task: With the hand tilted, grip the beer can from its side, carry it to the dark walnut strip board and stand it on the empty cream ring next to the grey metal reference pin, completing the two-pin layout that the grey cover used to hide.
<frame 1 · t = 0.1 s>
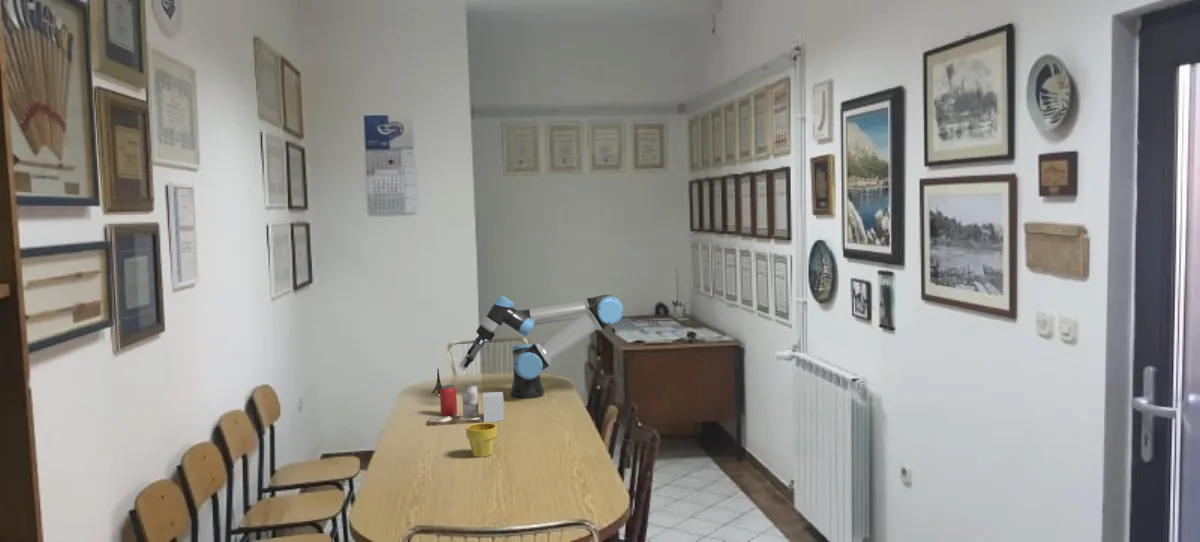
hand: (460, 370, 370), 15 cm above the table, tool tilted 35°, fingers open, 13 cm apart
beer can: (449, 415, 354), on the table
plant pot: (482, 455, 294), on the table
eiffel tower figurine: (438, 395, 398), on the table
layout board: (455, 421, 343), on the table
housing cover: (493, 419, 345), on the table
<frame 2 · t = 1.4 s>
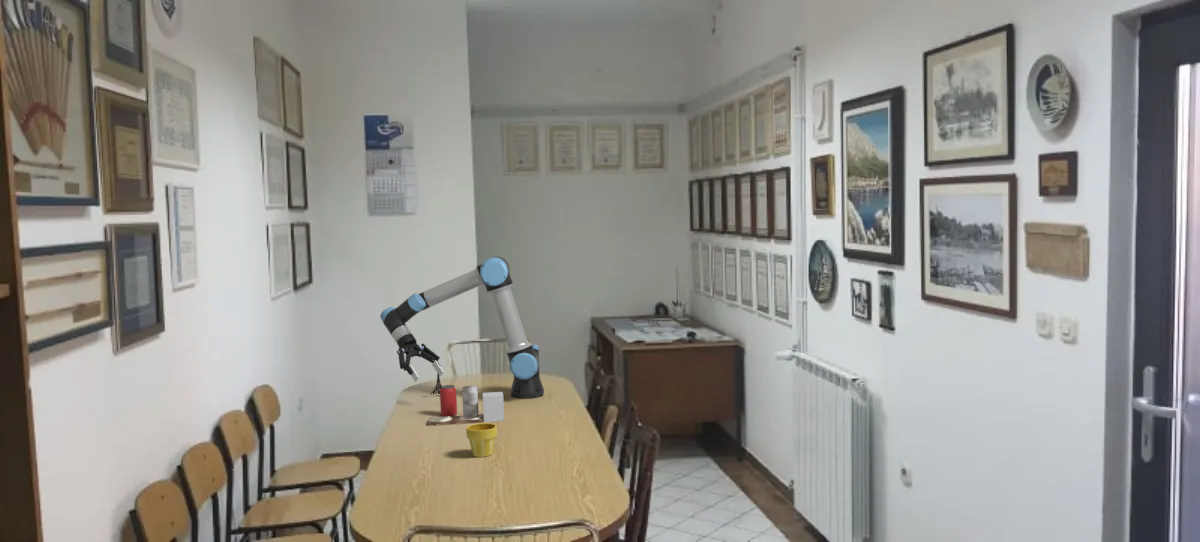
hand: (429, 376, 360), 15 cm above the table, tool tilted 45°, fingers open, 13 cm apart
nothing on the table moved.
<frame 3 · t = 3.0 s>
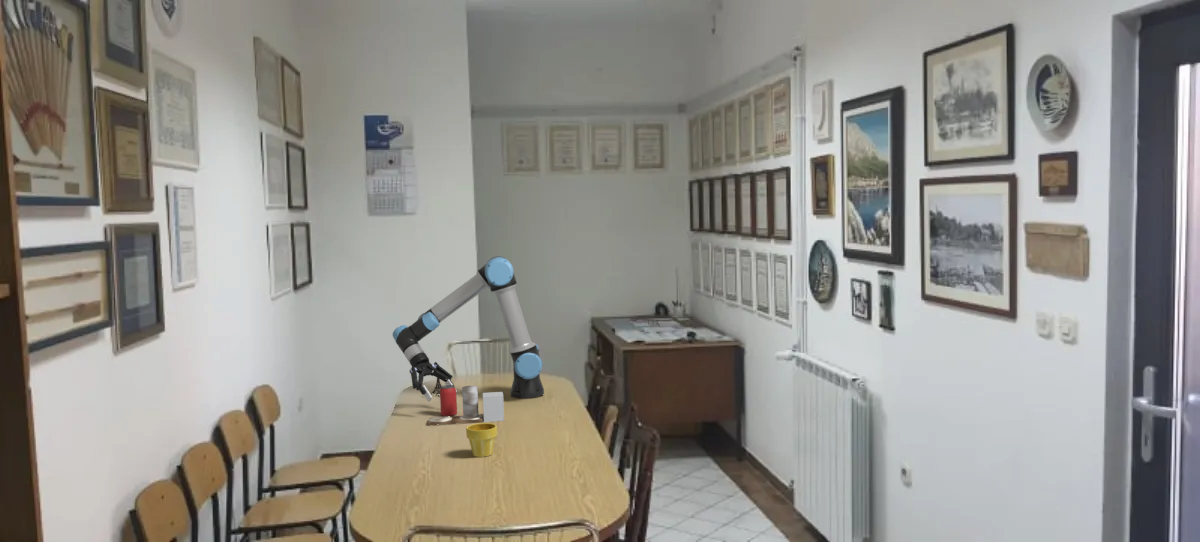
hand: (442, 396, 355), 8 cm above the table, tool tilted 45°, fingers open, 13 cm apart
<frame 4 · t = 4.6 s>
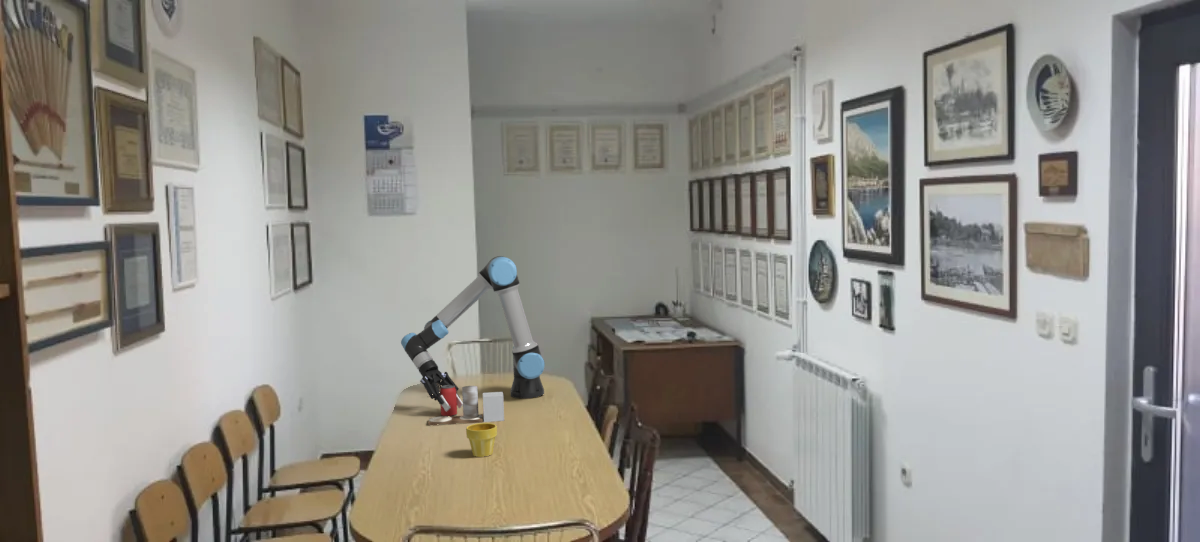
hand: (454, 407, 352), 3 cm above the table, tool tilted 45°, fingers closed on beer can, 6 cm apart
beer can: (449, 415, 354), on the table, touching gripper
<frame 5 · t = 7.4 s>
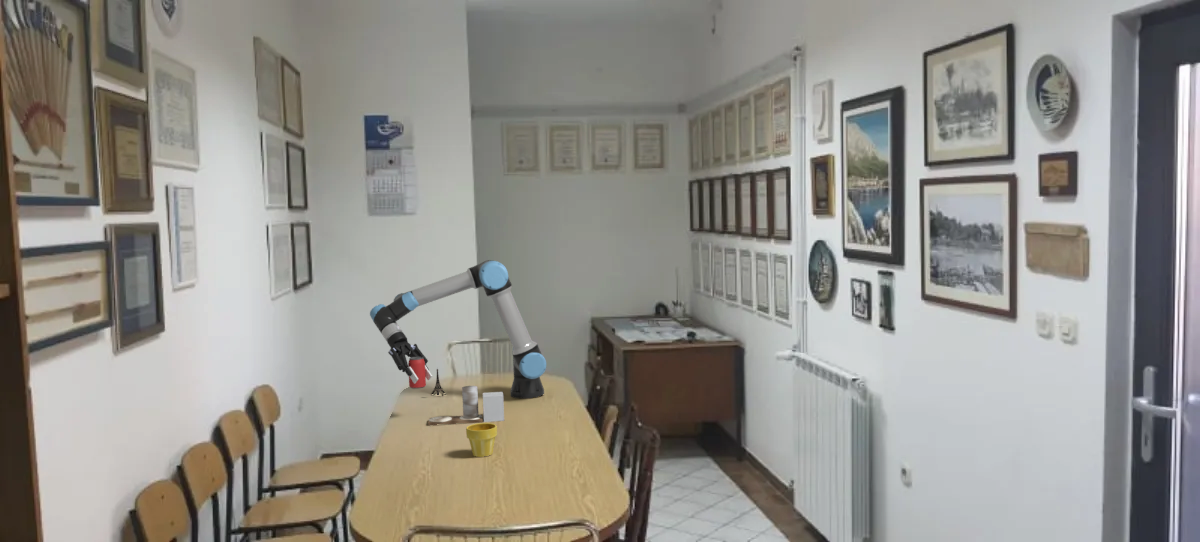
hand: (423, 379, 346), 16 cm above the table, tool tilted 45°, fingers closed on beer can, 6 cm apart
beer can: (417, 387, 348), point 13 cm above the table, touching gripper
when the fingers open (6 cm above the table, at t = 10.5 s): beer can drops 1 cm, resting on layout board.
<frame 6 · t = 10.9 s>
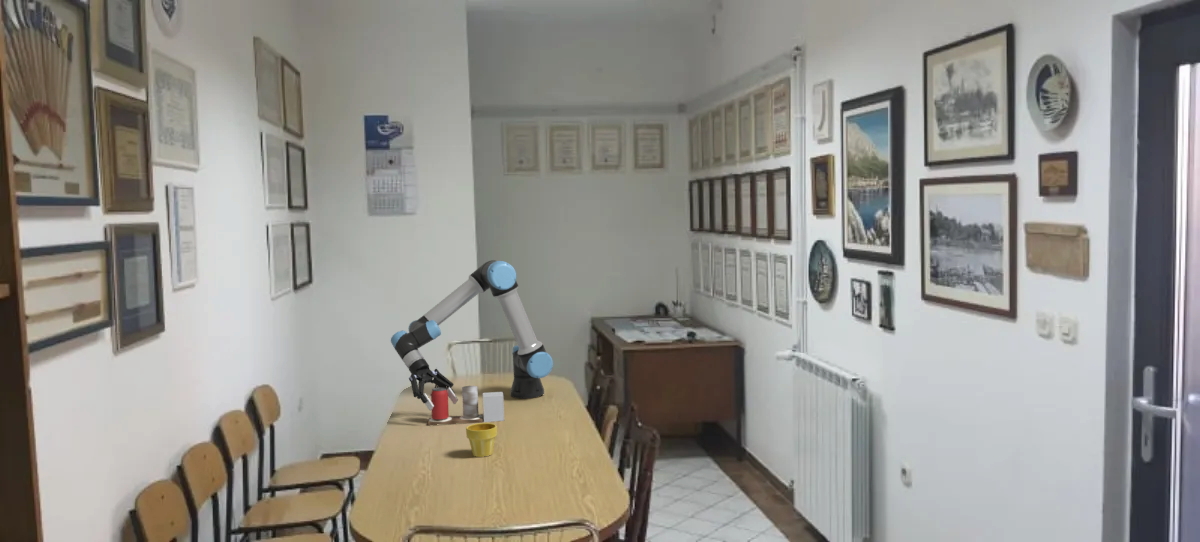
hand: (444, 405, 340), 7 cm above the table, tool tilted 45°, fingers open, 12 cm apart
beer can: (440, 419, 342), point 1 cm above the table, touching layout board
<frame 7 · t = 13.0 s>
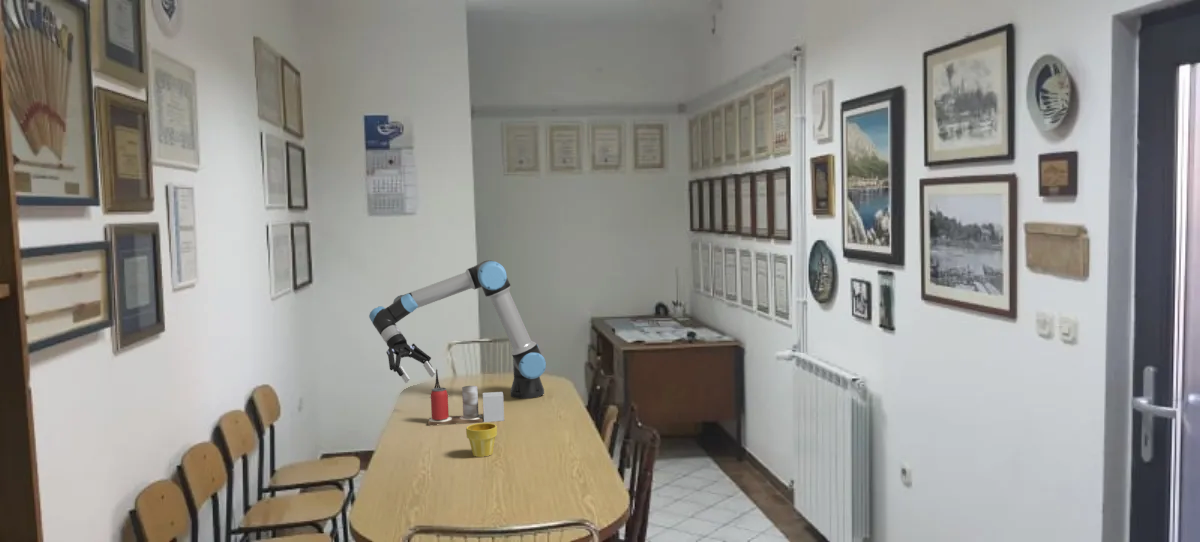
hand: (420, 378, 347), 17 cm above the table, tool tilted 45°, fingers open, 13 cm apart
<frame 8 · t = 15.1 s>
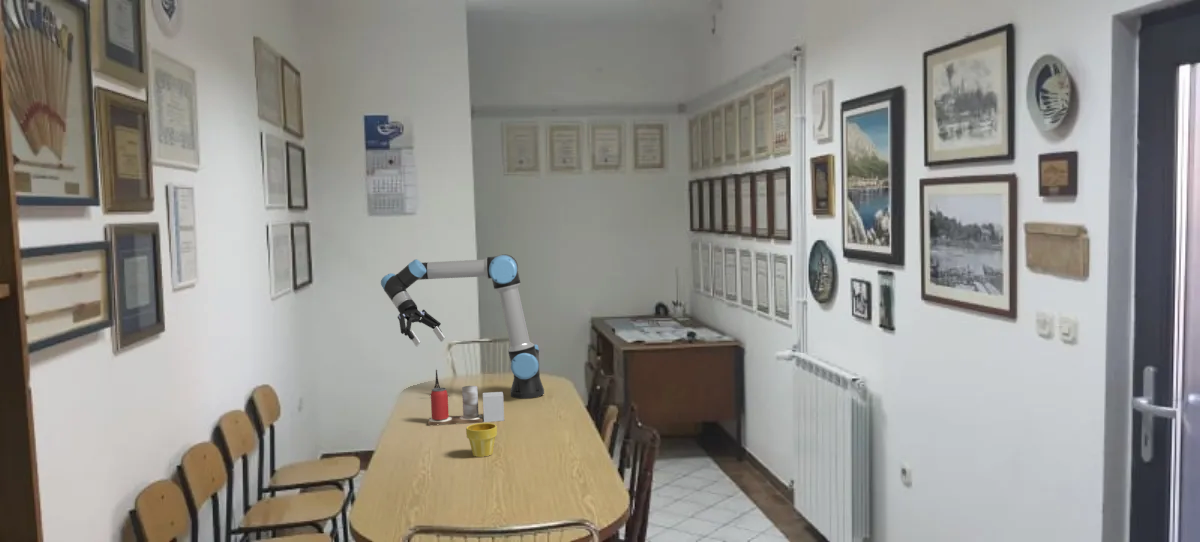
hand: (430, 342, 358), 30 cm above the table, tool tilted 45°, fingers open, 13 cm apart
at the end: beer can inside the target area (0.0 cm from its centre), point 1.2 cm above the table; beer can tilted 0°; the gripper is holding nothing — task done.
